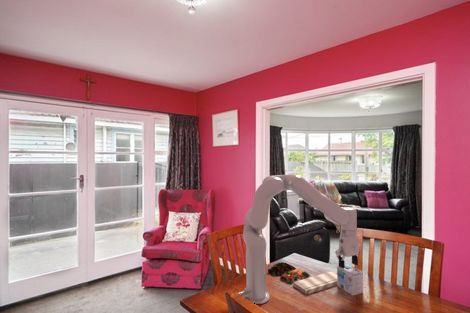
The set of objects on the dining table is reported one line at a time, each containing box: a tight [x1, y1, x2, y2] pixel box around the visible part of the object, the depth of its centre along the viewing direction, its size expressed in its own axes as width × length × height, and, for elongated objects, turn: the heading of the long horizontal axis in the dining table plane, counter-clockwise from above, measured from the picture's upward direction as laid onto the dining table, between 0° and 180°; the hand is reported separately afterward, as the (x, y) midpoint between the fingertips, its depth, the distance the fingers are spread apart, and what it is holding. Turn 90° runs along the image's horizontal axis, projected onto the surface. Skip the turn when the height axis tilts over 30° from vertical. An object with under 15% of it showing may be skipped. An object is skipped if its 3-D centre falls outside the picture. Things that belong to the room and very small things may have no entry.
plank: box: [292, 270, 337, 295], centre depth 137 cm, size 28×10×2 cm, turn 117°
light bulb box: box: [336, 263, 364, 296], centre depth 131 cm, size 11×7×11 cm, turn 21°
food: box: [267, 261, 311, 284], centre depth 150 cm, size 22×19×4 cm
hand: (348, 265), depth 131 cm, fingers open, 9 cm apart
